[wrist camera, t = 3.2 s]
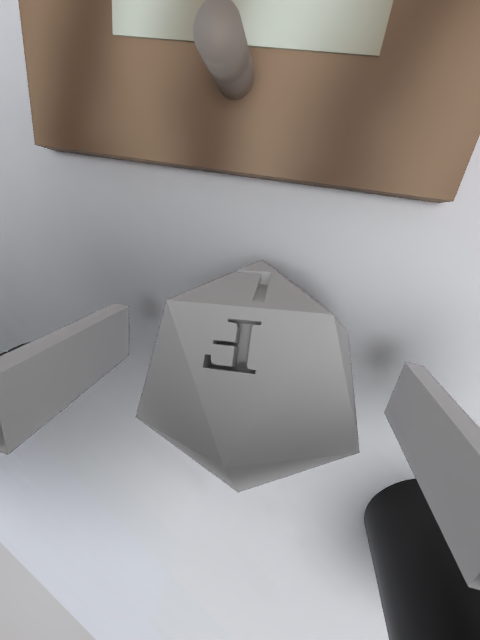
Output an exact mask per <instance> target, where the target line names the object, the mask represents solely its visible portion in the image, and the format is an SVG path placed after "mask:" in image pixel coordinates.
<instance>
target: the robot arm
mask: <svg viewBox="0 0 480 640" xmlns="http://www.w3.org/2000/svg"><path fill="white" fill-rule="evenodd" d="M127 356H129V306H125V305H120V304H115V303H114V304H112V305H110V306H108V307H105V308H103V309H101V310H99V311H97V312H95V313H92V314H90V315H88V316H86V317H84V318H82V319H79V320H77V321H75V322H73V323H71V324H69V325H67V326H64V327H62V328H60V329H58V330H56V331H54V332H51V333H49V334H47V335H45V336H43V337H41V338H39V339H36V340H34V341H32V342H28V343H25V344H21V345H19V346H17V347H15V348H13V349H11V350H8V352H4V353H2V354H0V453H4V454H7V455H8V454H10V453H11V452H12V451H13V450H14V449H16V448H17V447H18V446H19V445H21V444H22V443H23V442H24V441H25V440H27V439H28V438H29V437H30V436H31V435H33V434H34V433H35V432H36V431H37V430H39V429H40V428H41V427H42V426H44V425H45V424H46V423H47V422H48V421H50V420H51V419H52V418H53V417H54V416H56V415H57V414H58V413H59V412H61V411H62V410H63V409H64V408H65V407H67V406H68V405H69V404H70V403H71V402H73V401H74V400H75V399H76V398H78V397H79V396H80V395H81V394H82V393H84V392H85V391H86V390H87V389H88V388H90V387H91V386H92V385H93V384H95V383H96V382H97V381H98V380H99V379H101V378H102V377H103V376H104V375H105V374H107V373H108V372H109V371H110V370H112V369H113V368H114V367H115V366H116V365H118V364H119V363H120V362H121V361H122V360H124V359H125V358H126V357H127ZM384 413H385V415H386V417H387V420H388V422H389V424H390V426H391V428H392V430H393V432H394V434H395V436H396V438H397V440H398V442H399V444H400V446H401V449H402V451H403V453H404V455H405V457H406V459H407V461H408V463H409V465H410V467H411V469H412V471H413V473H414V475H415V478H416V480H417V482H418V484H419V486H420V488H421V490H422V492H423V494H424V496H425V498H426V500H427V502H428V504H429V507H430V509H431V511H432V513H433V515H434V517H435V519H436V521H437V523H438V525H439V527H440V529H441V531H442V533H443V536H444V538H445V540H446V542H447V544H448V546H449V548H450V550H451V552H452V554H453V556H454V558H455V560H456V562H457V565H458V567H459V569H460V571H461V573H462V575H463V577H464V579H465V581H466V583H467V585H468V587H470V588H474V589H477V590H480V428H479V427H478V426H477V424H476V423H475V422H474V421H473V420H472V419H471V418H470V417H469V416H468V415H467V413H466V412H465V411H464V410H463V409H462V408H461V407H460V406H459V405H458V404H457V402H456V401H455V400H454V399H453V398H452V397H451V396H450V395H449V394H448V393H447V391H446V390H445V389H444V388H443V387H442V386H441V385H440V384H439V383H438V382H437V380H436V379H435V378H434V377H433V376H432V375H431V374H430V373H429V372H428V371H427V369H426V368H425V367H424V366H420V365H415V364H411V363H406V362H405V364H404V366H403V369H402V371H401V373H400V376H399V378H398V381H397V383H396V385H395V388H394V390H393V393H392V395H391V397H390V400H389V402H388V405H387V407H386V409H385V412H384Z"/></svg>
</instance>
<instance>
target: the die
mask: <svg viewBox="0 0 480 640" xmlns="http://www.w3.org/2000/svg"><path fill="white" fill-rule="evenodd" d="M136 417H137V418H138V419H139V420H141V421H142V422H143V423H145V424H146V425H147V426H149V427H150V428H152V429H153V430H154V431H156V432H157V433H158V434H160V435H161V436H162V437H164V438H165V439H166V440H168V441H169V442H170V443H172V444H173V445H175V446H176V447H177V448H179V449H180V450H181V451H183V452H184V453H185V454H187V455H188V456H189V457H191V458H192V459H193V460H195V461H196V462H198V463H199V464H200V465H202V466H203V467H204V468H206V469H207V470H208V471H210V472H211V473H212V474H214V475H215V476H216V477H218V478H219V479H221V480H222V481H223V482H225V483H226V484H227V485H229V486H230V487H231V488H233V489H234V490H235V491H237V492H241V491H244V490H247V489H250V488H253V487H256V486H259V485H262V484H265V483H268V482H271V481H274V480H277V479H280V478H283V477H286V476H289V475H292V474H296V473H299V472H302V471H305V470H308V469H311V468H314V467H317V466H320V465H323V464H326V463H329V462H332V461H335V460H338V459H341V458H344V457H347V456H350V455H354V454H357V453H359V442H358V431H357V420H356V409H355V399H354V388H353V377H352V366H351V355H350V344H349V333H348V331H347V330H346V329H345V327H344V326H343V325H342V324H341V323H340V321H339V320H338V319H337V318H336V317H335V315H334V314H332V313H331V312H330V311H329V310H327V309H326V308H325V307H323V306H322V305H321V304H319V303H318V302H317V301H315V300H314V299H313V298H311V297H310V296H309V295H308V294H306V293H305V292H304V291H302V290H301V289H300V288H298V287H297V286H296V285H294V284H293V283H292V282H290V281H289V280H288V279H287V278H285V277H284V276H283V275H281V274H280V273H279V272H277V271H276V270H275V269H273V268H272V267H271V266H269V265H268V264H267V263H266V262H264V261H263V260H261V261H258V262H256V263H254V264H251V265H249V266H246V267H244V268H242V269H239V270H237V271H236V272H234V273H233V272H232V273H230V274H227V275H225V276H223V277H220V278H218V279H215V280H213V281H211V282H208V283H206V284H203V285H201V286H199V287H196V288H194V289H191V290H189V291H187V292H184V293H182V294H180V295H177V296H175V297H172V298H170V299H168V300H166V304H165V308H164V312H163V315H162V319H161V323H160V327H159V331H158V335H157V338H156V342H155V346H154V350H153V354H152V357H151V361H150V365H149V369H148V373H147V376H146V380H145V384H144V388H143V392H142V395H141V399H140V403H139V407H138V411H137V415H136Z"/></svg>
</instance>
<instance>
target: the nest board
mask: <svg viewBox="0 0 480 640" xmlns="http://www.w3.org/2000/svg"><path fill="white" fill-rule="evenodd" d="M18 1H19V9H20V18H21V27H22V35H23V44H24V53H25V61H26V70H27V79H28V87H29V96H30V104H31V113H32V122H33V130H34V139H35V145H38V146H42V147H45V148H48V149H52V150H56V151H63V152H71V153H78V154H85V155H93V156H100V157H107V158H115V159H122V160H129V161H137V162H144V163H151V164H159V165H166V166H173V167H181V168H188V169H195V170H203V171H210V172H217V173H225V174H232V175H239V176H247V177H254V178H261V179H269V180H276V181H283V182H291V183H298V184H305V185H313V186H320V187H327V188H334V189H342V190H349V191H356V192H364V193H371V194H378V195H386V196H393V197H400V198H408V199H415V200H422V201H430V202H437V203H442V202H450V201H454V198H455V196H456V193H457V191H458V188H459V186H460V183H461V181H462V178H463V176H464V173H465V170H466V168H467V165H468V163H469V160H470V158H471V155H472V153H473V150H474V148H475V145H476V143H477V140H478V138H479V135H480V0H18Z"/></svg>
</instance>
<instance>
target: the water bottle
mask: <svg viewBox="0 0 480 640" xmlns="http://www.w3.org/2000/svg"><path fill="white" fill-rule="evenodd" d="M364 522H365V527H366V532H367V537H368V542H369V546H370V551H371V556H372V560H373V565H374V570H375V575H376V579H377V584H378V589H379V594H380V598H381V603H382V608H383V612H384V617H385V622H386V627H387V631H388V636H389V640H480V590H477V589H474V588H470V587H468V585H467V583H466V581H465V579H464V577H463V575H462V573H461V571H460V569H459V567H458V565H457V562H456V560H455V558H454V556H453V554H452V552H451V550H450V548H449V546H448V544H447V542H446V540H445V538H444V536H443V533H442V531H441V529H440V527H439V525H438V523H437V521H436V519H435V517H434V515H433V513H432V511H431V509H430V507H429V504H428V502H427V500H426V498H425V496H424V494H423V492H422V490H421V488H420V486H419V484H418V482H417V480H416V479H415V480H409V481H404V482H401V483H398V484H395V485H392V486H390V487H388V488H386V489H384V490H383V491H381V492H380V493H379V494H377V495H376V496H375V497H374V498H373V499H372V500H371V502H370V503H369V505H368V507H367V509H366V512H365V517H364Z"/></svg>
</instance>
